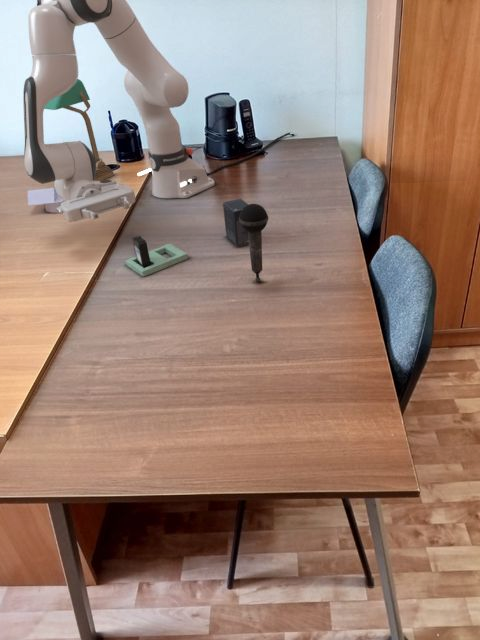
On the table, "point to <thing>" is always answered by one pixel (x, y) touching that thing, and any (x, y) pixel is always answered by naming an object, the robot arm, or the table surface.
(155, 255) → the holder
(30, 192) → the wedge on round base
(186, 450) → the table surface
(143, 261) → the ink cartridge
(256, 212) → the microphone
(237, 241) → the box
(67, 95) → the banker's lamp
